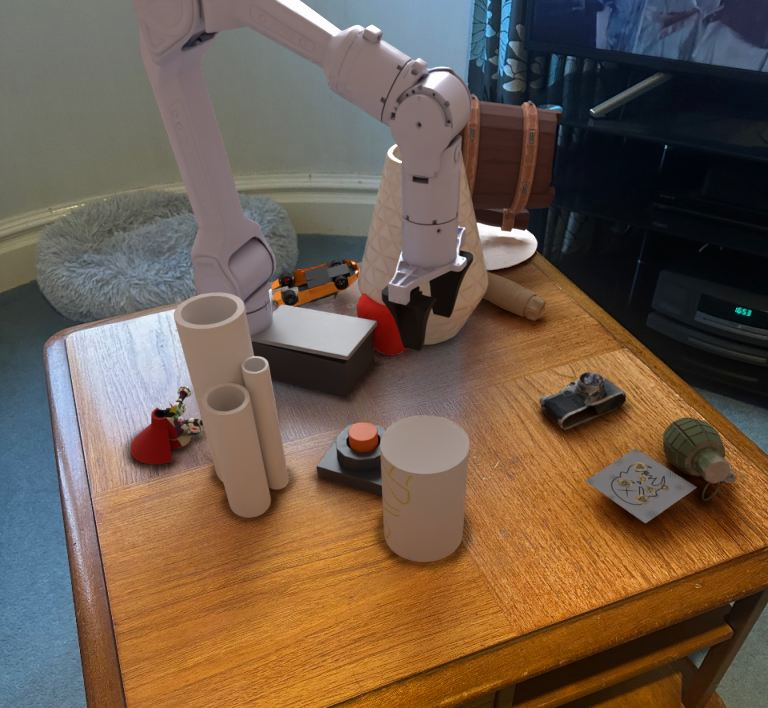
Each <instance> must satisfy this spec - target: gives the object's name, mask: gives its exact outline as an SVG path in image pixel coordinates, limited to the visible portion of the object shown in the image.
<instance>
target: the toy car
mask: <svg viewBox="0 0 768 708" xmlns="http://www.w3.org/2000/svg"><path fill="white" fill-rule="evenodd" d="M359 272H360V267H359V264H358V262H357V261H355V260H354V259H341V260H340V259H333V260H332V261H331V262H330V263H329V262H328V261H327V262H324V263H321V264H319V265H315V266H311V267H307V268H299V269H295V270H294V271H292V274H291V273H290V272H289V271H283V272H282V273H281V274H280V276H279V278H277V279H276V280H275V281H274V282H273V283H272V285H271V286H270V290H271V294H272V295H271V296H272V299H273V300H274V303H275V305H276V306H277V308H279V307H280V306H281V305H288V306H294V307H298V306H300V305H304V304H308V303H309V304H310V303H313V302H318V301H320V300H324V299H327V298H330V297H332V296H333V297H334V298H333V299H334V300H336V299H337V297H338V296H339V295H338V294H339V293H340V292H343V291H347V289H349V288H350V287H351V286H352V285H353V284H354V283H355V282H357V281H358V276H359Z"/></svg>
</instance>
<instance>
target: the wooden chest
mask: <svg viewBox="0 0 768 708" xmlns="http://www.w3.org/2000/svg"><path fill="white" fill-rule="evenodd" d="M470 95H471V100H472V108H471V114H470V117H469V119H468V121H467V123H466V125H465V126H464V128H463V129H462V130H461V131H460V132H459V133H458V134H457V135H456V136H455V137H457V136H459V135H460V136H461V137H462V140H461V152H462V157H463V161H464V166H465V171H466V175H467V180H468V185H469V189H470V194H471V199H472V203H473V208H474V213H475V217H476V222H477V223H481V224H484V225H488V226H493V227H501V231H508V232H511V230H512V228H513V229H518V230H523V231H525V230H528V228H529V223H530V211H529V210H528V209H530V210H533V209H535V210H536V209H539V210H540V209H548V208H549V207H550V206H551V205H552V204H553V202H554V199H555V195H556V189H555V187H554V186H550V185H551V182H552V175H553V163H554V154H555V146H556V145H555V143H556V131H557V125H560V122H561V118H562V111H561V110H557V109H556V110H555V109H549V108H540V107H536V105H535V103H533V101H532V100H528V101H527V102H526V101H525V102H523V103H522V104H521V105H515V104H509V103H500V102H499V103H498V102H491V101H483V100H479V98H478V97H477V95H475V94H474V93H470Z"/></svg>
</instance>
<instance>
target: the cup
mask: <svg viewBox="0 0 768 708" xmlns="http://www.w3.org/2000/svg"><path fill="white" fill-rule="evenodd" d="M385 430H386V431H385V432H384V433H383V435H382V437H381V441H380V452H381V475H382V496H381V498H382V517H383V536H384V540H385V543H386V545H387V546H388V548H389V549H390V550H391V551H392V552H393V553H395V554H396V555H398V556H399V557H400V558H403V559H406V560H409V561H411V562H418V563H429V562H430V563H431V562H436V561H440V560H443V559H445V558H447V557H449V556H450V555H452V554H453V553H454V552H456V550H457V549H458V548H459V547H460V545H461V542H462V541H463V536H464V525H465V524H464V523H465V510H466V498H467V497H466V496H467V485H468V484H467V483H468V470H469V456H470V455H469V454H470V439H469V436H468V435H467V433H466V431H465V430H464V429H463V428H462V426H460V425H459V424H457V423H455V422H454V421H452V420H449V419H448V418H444V417H441V416H437V415H427V414H425V415H424V414H423V415H421V414H420V415H413V416H412V415H411V416H409V417H405V418H402V419H400V420H398V421H396V422H394V423H392V424H391V425H389V426H388V427H387V428H386V429H385Z"/></svg>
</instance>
